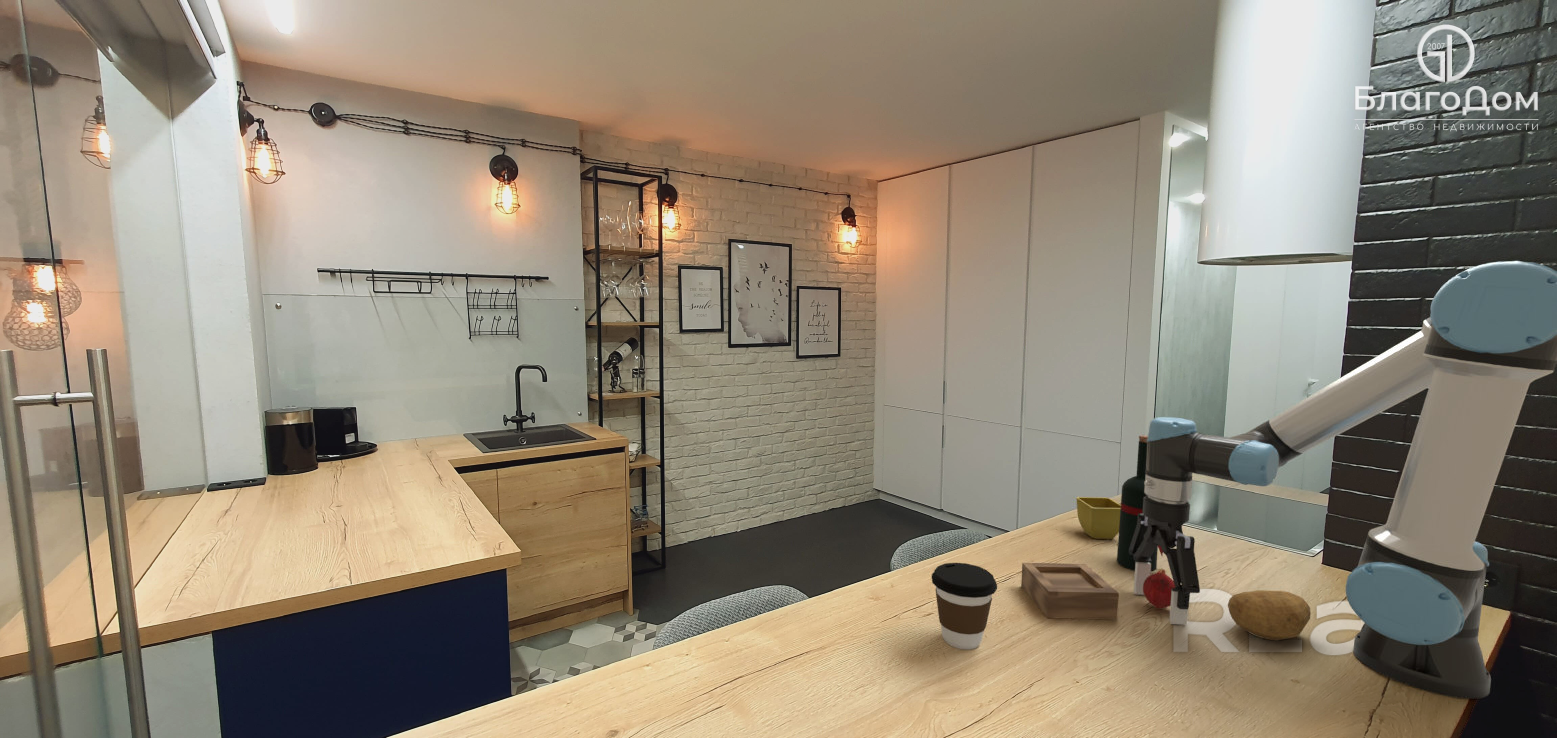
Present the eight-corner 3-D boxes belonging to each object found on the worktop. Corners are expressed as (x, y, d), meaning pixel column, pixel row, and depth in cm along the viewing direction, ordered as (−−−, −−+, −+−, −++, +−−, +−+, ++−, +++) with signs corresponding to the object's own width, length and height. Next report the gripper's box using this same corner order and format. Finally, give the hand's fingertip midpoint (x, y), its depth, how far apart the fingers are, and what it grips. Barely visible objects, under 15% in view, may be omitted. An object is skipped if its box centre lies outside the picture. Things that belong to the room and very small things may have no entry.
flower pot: (1125, 542, 151) (1127, 507, 150) (1090, 542, 151) (1092, 507, 150) (1106, 530, 160) (1108, 497, 159) (1073, 529, 160) (1075, 496, 159)
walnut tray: (1117, 619, 112) (1118, 592, 112) (1047, 617, 113) (1048, 591, 112) (1083, 587, 125) (1085, 563, 125) (1021, 586, 126) (1022, 562, 125)
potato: (1329, 646, 104) (1333, 602, 103) (1262, 654, 101) (1266, 608, 101) (1273, 618, 114) (1276, 577, 113) (1211, 624, 111) (1214, 583, 110)
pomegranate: (1177, 619, 113) (1180, 578, 112) (1141, 610, 116) (1144, 571, 115) (1176, 606, 118) (1179, 567, 117) (1141, 599, 121) (1144, 560, 120)
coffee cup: (916, 631, 108) (918, 566, 106) (964, 619, 112) (967, 557, 111) (957, 663, 98) (960, 593, 96) (1008, 649, 102) (1011, 581, 101)
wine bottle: (1151, 578, 130) (1160, 443, 127) (1108, 560, 139) (1116, 434, 137) (1174, 572, 133) (1184, 440, 131) (1131, 555, 143) (1139, 431, 140)
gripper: (1114, 480, 126) (1107, 580, 128) (1186, 518, 103) (1177, 639, 105) (1150, 481, 126) (1143, 581, 128) (1231, 519, 103) (1220, 640, 105)
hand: (1158, 607), depth 117 cm, fingers open, 11 cm apart
